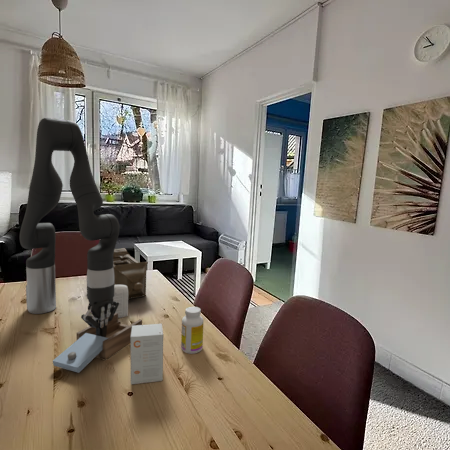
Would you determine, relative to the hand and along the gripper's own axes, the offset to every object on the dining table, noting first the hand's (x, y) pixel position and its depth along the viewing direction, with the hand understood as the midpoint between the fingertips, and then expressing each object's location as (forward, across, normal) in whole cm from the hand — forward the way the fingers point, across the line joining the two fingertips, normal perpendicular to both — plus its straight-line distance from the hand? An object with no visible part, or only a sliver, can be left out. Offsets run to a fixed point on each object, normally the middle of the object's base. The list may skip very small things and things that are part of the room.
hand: (101, 337), depth 92 cm
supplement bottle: (+4, -13, +24) cm, 27 cm away
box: (+4, -4, 0) cm, 5 cm away
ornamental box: (+4, -38, -25) cm, 46 cm away
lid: (+1, +7, 0) cm, 7 cm away
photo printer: (+4, -18, -12) cm, 22 cm away
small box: (+4, +4, +20) cm, 21 cm away
